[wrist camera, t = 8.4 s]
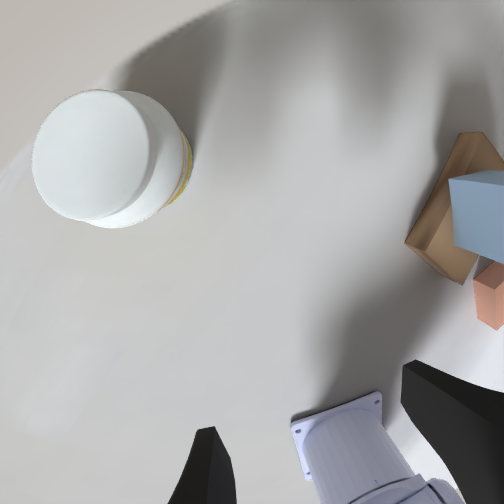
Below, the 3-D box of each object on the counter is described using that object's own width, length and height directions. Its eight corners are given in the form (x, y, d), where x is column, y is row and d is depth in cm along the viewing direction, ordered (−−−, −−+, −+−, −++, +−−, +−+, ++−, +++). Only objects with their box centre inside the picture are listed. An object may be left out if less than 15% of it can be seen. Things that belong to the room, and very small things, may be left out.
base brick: (438, 273, 22) (462, 285, 19) (400, 241, 21) (425, 251, 18) (488, 172, 21) (513, 174, 18) (456, 133, 20) (482, 131, 17)
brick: (504, 292, 24) (526, 303, 21) (476, 317, 24) (498, 331, 21) (500, 254, 23) (524, 263, 19) (471, 278, 23) (496, 290, 19)
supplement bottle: (212, 166, 18) (215, 157, 9) (144, 228, 18) (86, 282, 9) (152, 100, 16) (103, 36, 7) (87, 163, 17) (-9, 161, 7)
